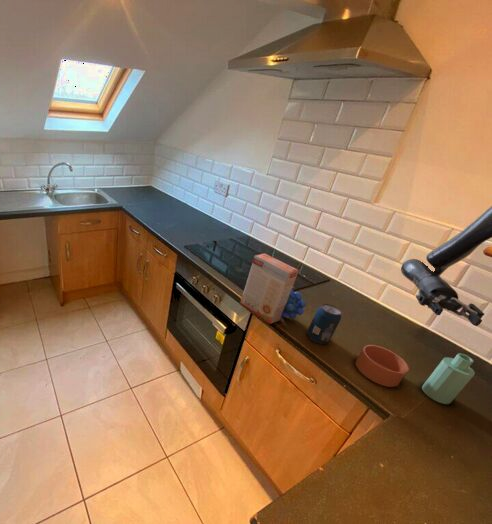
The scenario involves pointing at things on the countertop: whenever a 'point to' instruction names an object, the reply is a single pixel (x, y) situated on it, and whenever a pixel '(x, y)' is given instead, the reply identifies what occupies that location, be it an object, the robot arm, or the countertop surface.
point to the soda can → (324, 323)
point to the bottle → (449, 378)
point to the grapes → (294, 305)
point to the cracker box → (268, 287)
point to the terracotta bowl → (381, 365)
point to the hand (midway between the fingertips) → (458, 317)
